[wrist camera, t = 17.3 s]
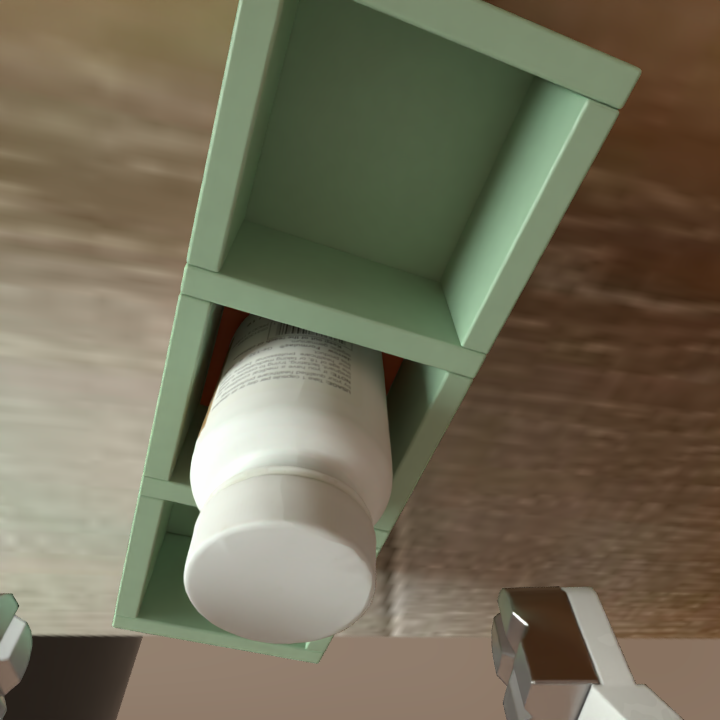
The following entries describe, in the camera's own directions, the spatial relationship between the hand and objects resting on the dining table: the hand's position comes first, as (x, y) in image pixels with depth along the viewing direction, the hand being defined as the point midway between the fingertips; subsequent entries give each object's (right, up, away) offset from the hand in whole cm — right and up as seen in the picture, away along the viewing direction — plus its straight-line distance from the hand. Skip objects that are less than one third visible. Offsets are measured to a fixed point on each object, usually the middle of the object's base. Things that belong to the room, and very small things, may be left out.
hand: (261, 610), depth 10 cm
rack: (0, +5, +8) cm, 9 cm away
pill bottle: (0, +4, +7) cm, 8 cm away
